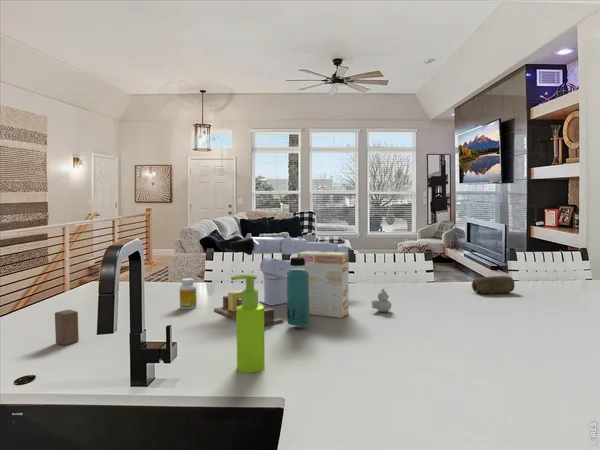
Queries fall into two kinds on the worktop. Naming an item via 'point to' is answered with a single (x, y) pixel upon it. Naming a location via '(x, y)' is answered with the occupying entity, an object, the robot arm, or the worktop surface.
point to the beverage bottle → (297, 294)
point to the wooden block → (66, 327)
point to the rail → (232, 315)
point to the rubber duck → (382, 302)
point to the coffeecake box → (327, 282)
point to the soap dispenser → (250, 329)
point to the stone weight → (493, 284)
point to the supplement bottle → (187, 294)
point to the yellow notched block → (234, 299)
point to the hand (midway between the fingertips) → (224, 245)
